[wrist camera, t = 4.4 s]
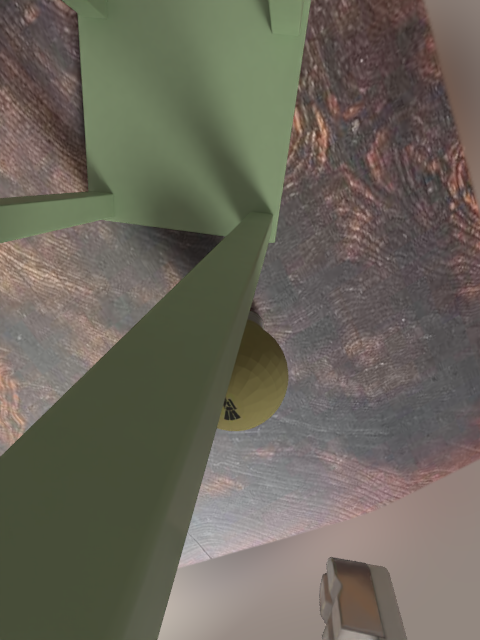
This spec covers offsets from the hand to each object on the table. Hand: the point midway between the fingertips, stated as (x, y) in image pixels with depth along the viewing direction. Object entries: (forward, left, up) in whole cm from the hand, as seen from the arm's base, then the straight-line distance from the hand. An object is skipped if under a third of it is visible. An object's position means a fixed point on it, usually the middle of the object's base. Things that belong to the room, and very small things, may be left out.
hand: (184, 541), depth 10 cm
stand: (+5, -12, -16) cm, 21 cm away
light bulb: (0, 0, -16) cm, 16 cm away
